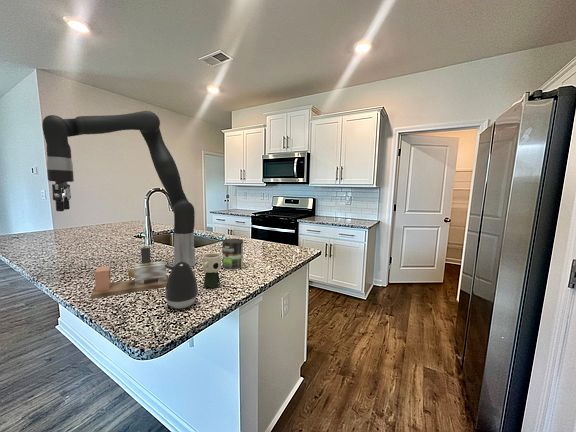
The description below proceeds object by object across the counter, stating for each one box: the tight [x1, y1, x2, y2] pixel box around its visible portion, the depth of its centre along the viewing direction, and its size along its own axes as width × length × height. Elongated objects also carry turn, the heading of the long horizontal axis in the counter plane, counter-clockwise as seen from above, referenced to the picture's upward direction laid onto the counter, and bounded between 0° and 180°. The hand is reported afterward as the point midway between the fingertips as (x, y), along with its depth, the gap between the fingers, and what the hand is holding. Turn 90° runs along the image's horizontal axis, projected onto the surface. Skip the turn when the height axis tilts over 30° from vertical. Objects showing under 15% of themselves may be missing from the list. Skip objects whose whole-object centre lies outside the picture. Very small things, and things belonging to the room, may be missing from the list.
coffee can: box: [221, 238, 244, 271], centre depth 124 cm, size 10×10×14 cm
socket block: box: [94, 265, 112, 292], centre depth 92 cm, size 4×6×8 cm, turn 31°
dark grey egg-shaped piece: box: [164, 262, 199, 310], centre depth 83 cm, size 10×10×15 cm
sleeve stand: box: [90, 260, 169, 300], centre depth 96 cm, size 25×10×8 cm, turn 121°
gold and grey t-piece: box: [127, 246, 151, 278], centre depth 98 cm, size 13×3×11 cm, turn 121°
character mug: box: [202, 252, 222, 289], centre depth 100 cm, size 11×7×13 cm, turn 165°
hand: (63, 210), depth 99 cm, fingers open, 8 cm apart
